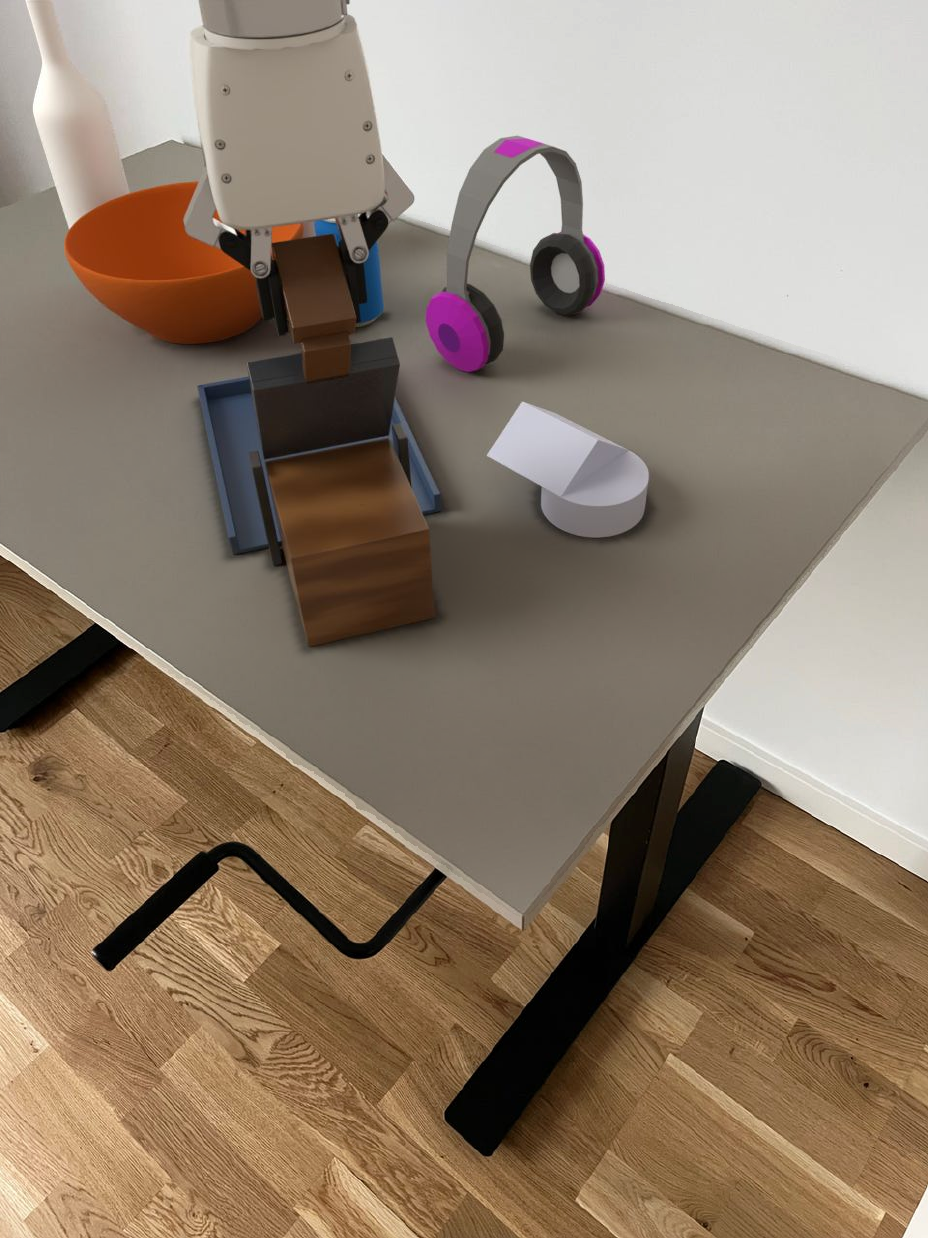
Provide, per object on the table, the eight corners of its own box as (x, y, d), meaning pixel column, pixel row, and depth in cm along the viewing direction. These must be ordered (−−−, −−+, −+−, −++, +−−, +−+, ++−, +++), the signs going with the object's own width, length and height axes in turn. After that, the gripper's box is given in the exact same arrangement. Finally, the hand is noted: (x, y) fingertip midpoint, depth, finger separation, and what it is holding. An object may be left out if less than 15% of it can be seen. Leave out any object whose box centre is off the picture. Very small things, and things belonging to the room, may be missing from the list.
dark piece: (406, 322, 61) (380, 225, 63) (247, 349, 60) (222, 249, 61) (389, 435, 78) (368, 357, 80) (264, 460, 76) (244, 379, 78)
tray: (441, 511, 86) (440, 493, 85) (232, 555, 82) (228, 537, 81) (376, 369, 103) (375, 353, 101) (201, 401, 99) (197, 385, 98)
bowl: (60, 372, 104) (28, 282, 97) (125, 264, 122) (102, 181, 114) (297, 371, 103) (282, 280, 96) (327, 262, 121) (317, 178, 113)
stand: (448, 614, 77) (443, 514, 70) (294, 650, 75) (272, 550, 67) (409, 520, 85) (401, 422, 78) (269, 549, 83) (247, 451, 76)
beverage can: (395, 310, 111) (387, 204, 103) (361, 335, 108) (349, 227, 99) (349, 297, 114) (337, 192, 105) (315, 321, 110) (299, 214, 102)
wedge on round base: (486, 486, 88) (599, 552, 82) (486, 422, 83) (605, 487, 77) (553, 443, 93) (665, 502, 86) (556, 380, 88) (675, 438, 81)
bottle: (139, 269, 120) (62, -16, 99) (73, 273, 120) (-19, -12, 99) (150, 240, 126) (79, -35, 105) (86, 244, 126) (2, -31, 105)
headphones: (548, 289, 114) (555, 104, 100) (609, 314, 110) (625, 123, 95) (420, 360, 104) (407, 164, 90) (480, 390, 99) (477, 189, 85)
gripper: (408, -32, 56) (424, 275, 69) (105, -3, 53) (181, 314, 66) (444, 0, 51) (454, 326, 64) (111, 35, 48) (193, 370, 61)
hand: (315, 317), depth 65 cm, fingers closed on dark piece, 4 cm apart
